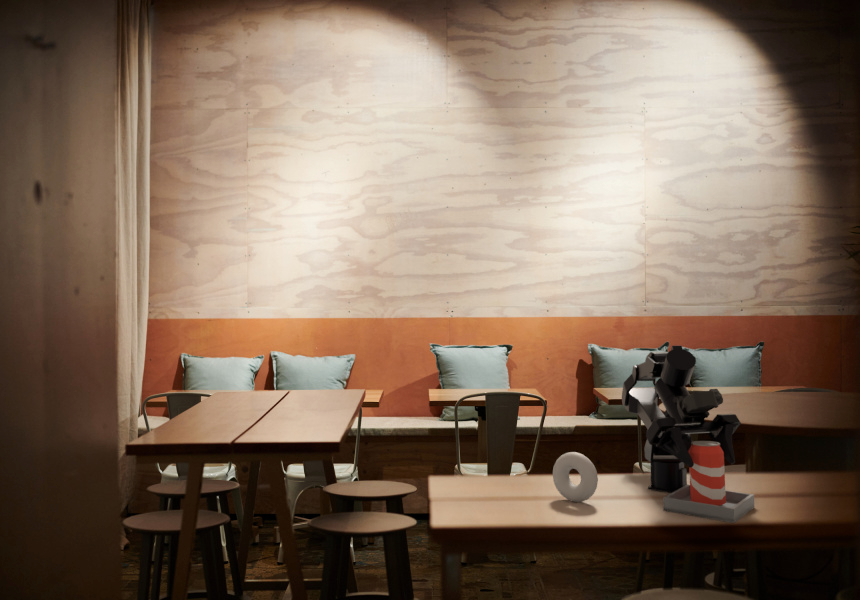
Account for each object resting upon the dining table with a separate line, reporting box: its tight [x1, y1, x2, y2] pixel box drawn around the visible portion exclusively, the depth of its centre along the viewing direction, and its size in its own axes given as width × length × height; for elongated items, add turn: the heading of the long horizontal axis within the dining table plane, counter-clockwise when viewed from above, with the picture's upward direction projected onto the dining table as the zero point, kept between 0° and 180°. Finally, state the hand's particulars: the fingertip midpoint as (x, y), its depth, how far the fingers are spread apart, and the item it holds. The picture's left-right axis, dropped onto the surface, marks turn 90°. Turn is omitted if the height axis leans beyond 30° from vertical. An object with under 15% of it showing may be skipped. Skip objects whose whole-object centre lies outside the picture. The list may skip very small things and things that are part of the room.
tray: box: [662, 484, 755, 524], centre depth 134 cm, size 13×13×2 cm
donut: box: [552, 451, 599, 503], centre depth 140 cm, size 10×4×10 cm, turn 47°
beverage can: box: [688, 440, 726, 506], centre depth 134 cm, size 6×6×12 cm
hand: (712, 464), depth 133 cm, fingers open, 9 cm apart
